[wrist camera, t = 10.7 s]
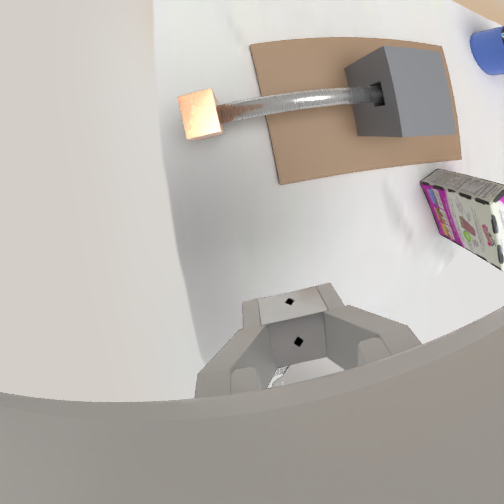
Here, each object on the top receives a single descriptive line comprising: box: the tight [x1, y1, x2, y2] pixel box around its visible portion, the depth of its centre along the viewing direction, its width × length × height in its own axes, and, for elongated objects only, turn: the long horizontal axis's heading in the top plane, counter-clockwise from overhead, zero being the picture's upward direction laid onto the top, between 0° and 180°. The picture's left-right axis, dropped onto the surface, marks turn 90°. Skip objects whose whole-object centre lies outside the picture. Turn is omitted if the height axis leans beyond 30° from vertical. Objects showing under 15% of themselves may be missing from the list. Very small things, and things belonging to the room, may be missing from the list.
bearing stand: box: [250, 37, 462, 185], centre depth 29 cm, size 20×32×13 cm, turn 102°
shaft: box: [178, 86, 385, 140], centre depth 26 cm, size 4×24×8 cm, turn 102°
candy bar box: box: [420, 169, 504, 271], centre depth 33 cm, size 11×5×16 cm, turn 36°
